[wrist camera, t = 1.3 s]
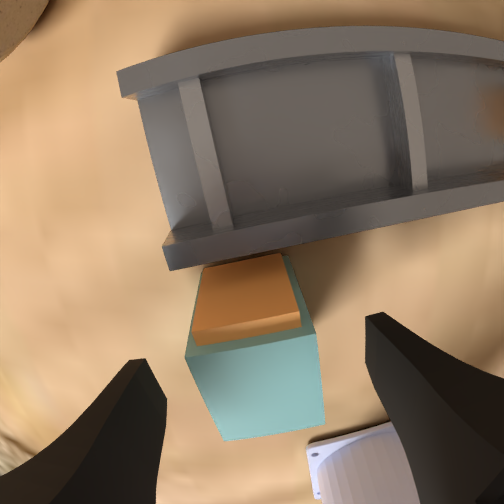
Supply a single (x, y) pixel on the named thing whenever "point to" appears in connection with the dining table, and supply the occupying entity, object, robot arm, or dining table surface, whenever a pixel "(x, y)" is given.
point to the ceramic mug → (17, 22)
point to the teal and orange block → (255, 349)
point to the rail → (318, 134)
